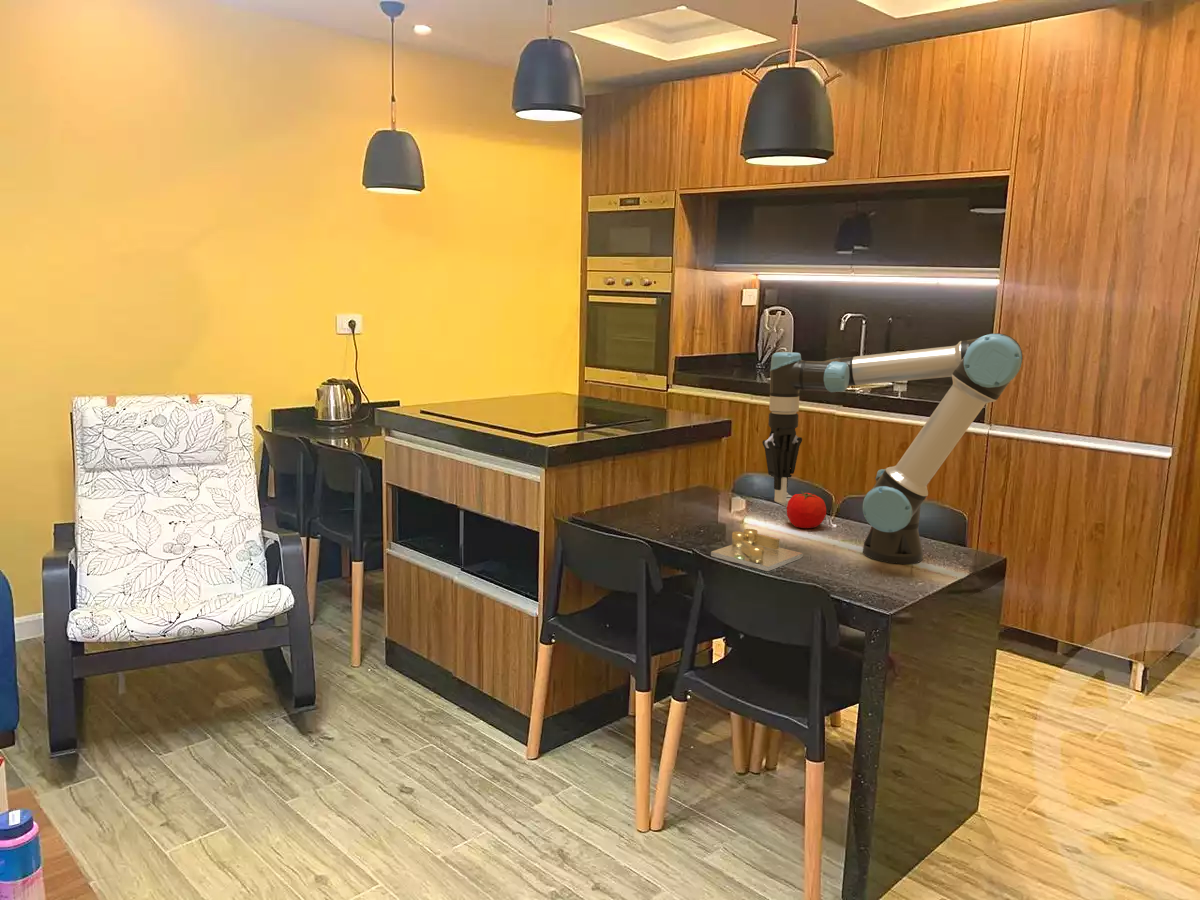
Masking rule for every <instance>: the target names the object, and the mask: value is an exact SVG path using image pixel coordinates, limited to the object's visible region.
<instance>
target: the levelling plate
mask: <svg viewBox="0 0 1200 900" xmlns="http://www.w3.org/2000/svg"><path fill="white" fill-rule="evenodd" d="M742 541H746V533H745V532H744V531H737V530H736V531H732V533H731V544H730V545H726V546H724V547H720V548H718V549H714V550H712V551H710V556H711V557H713V558H717V559H721V560H724V561H728V562H730V563H731V562H732V563H736V564H740V565H742V566H746V567H747V566H748V567H750V568H754V569H758V570H762V571H765V572H770V571H773V570H775V569H778V568H780V567H783V566H785V565H787V564H790V563H792V562H795V561H797V560H801V559H803V556H804V554H803V552H798V551H794V550H791V549H786V548H783V547H779V549H773V548H769V547H765V546H761V545H756V544H751V545H753V546H761V547H763V548H764V557H763V562H761V563H755V562H751V561H749V556H748V555H746V554H745V553H744V552H742V551H741V545H742Z"/></svg>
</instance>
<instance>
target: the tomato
mask: <svg viewBox="0 0 1200 900" xmlns="http://www.w3.org/2000/svg"><path fill="white" fill-rule="evenodd" d="M800 492H801V493H795V494H794V495H791V496H792V497H791V499H790V500H789V501H788V504H787V507H786V516H787V519H788V520H789V522H790V523H791V524H792V525H793V526H794V527H796V528H801V529H812V528H813V529H814V528H816V527H818V526H819V525H821V524H823V523H822V522H823V521H824V520H825V518H826V517H827V506H826V503H825V500H824V499H823V498H821V497H820V496H818V495H816V494H815V493H809V492H804V491H802V490H800Z"/></svg>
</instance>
